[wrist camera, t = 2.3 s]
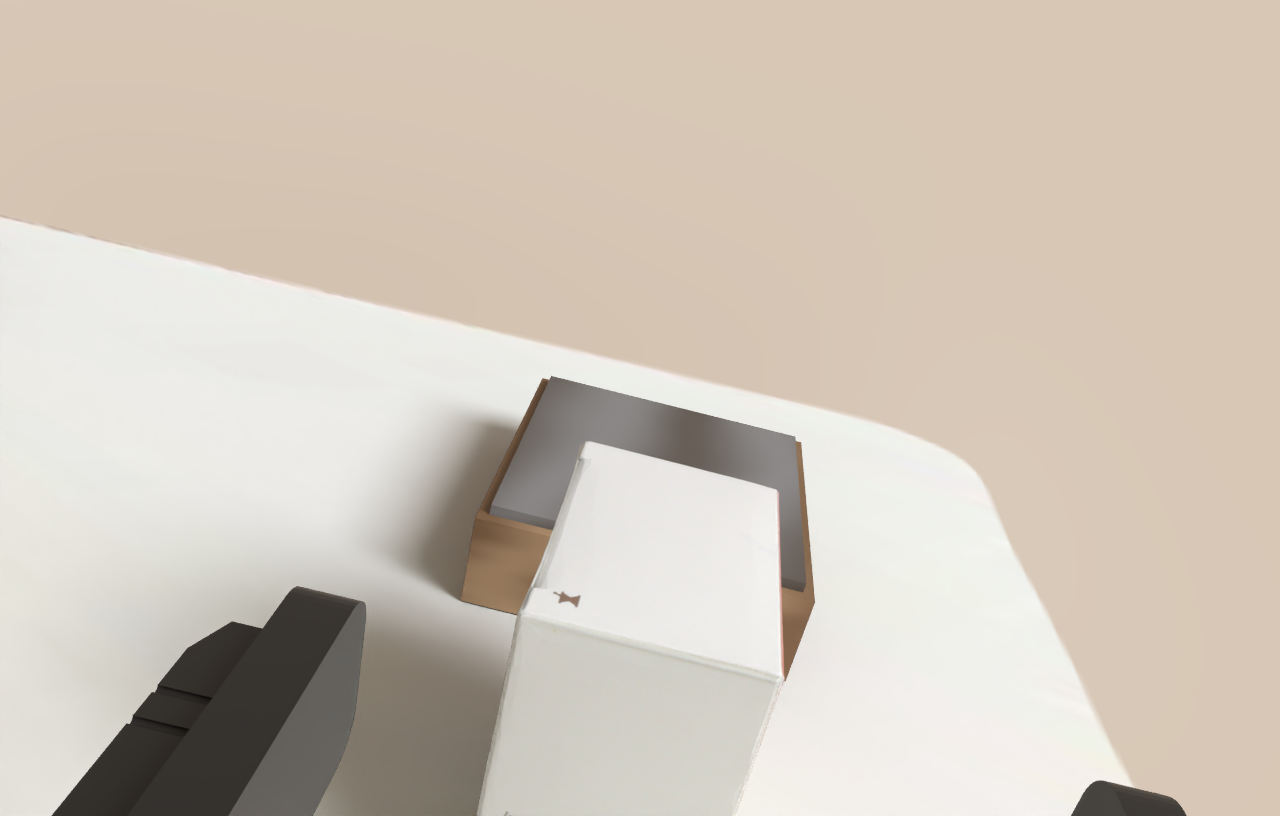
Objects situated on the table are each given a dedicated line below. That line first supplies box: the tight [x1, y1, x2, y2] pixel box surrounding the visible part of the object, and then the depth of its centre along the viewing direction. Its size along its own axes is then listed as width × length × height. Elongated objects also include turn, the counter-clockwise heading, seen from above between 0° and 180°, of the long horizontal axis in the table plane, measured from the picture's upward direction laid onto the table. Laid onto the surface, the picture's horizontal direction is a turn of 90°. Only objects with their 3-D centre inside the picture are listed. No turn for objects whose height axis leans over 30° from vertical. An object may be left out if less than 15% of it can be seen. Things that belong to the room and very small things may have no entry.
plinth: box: [461, 376, 815, 681], centre depth 40 cm, size 12×12×4 cm
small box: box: [476, 441, 785, 816], centre depth 25 cm, size 8×6×10 cm
